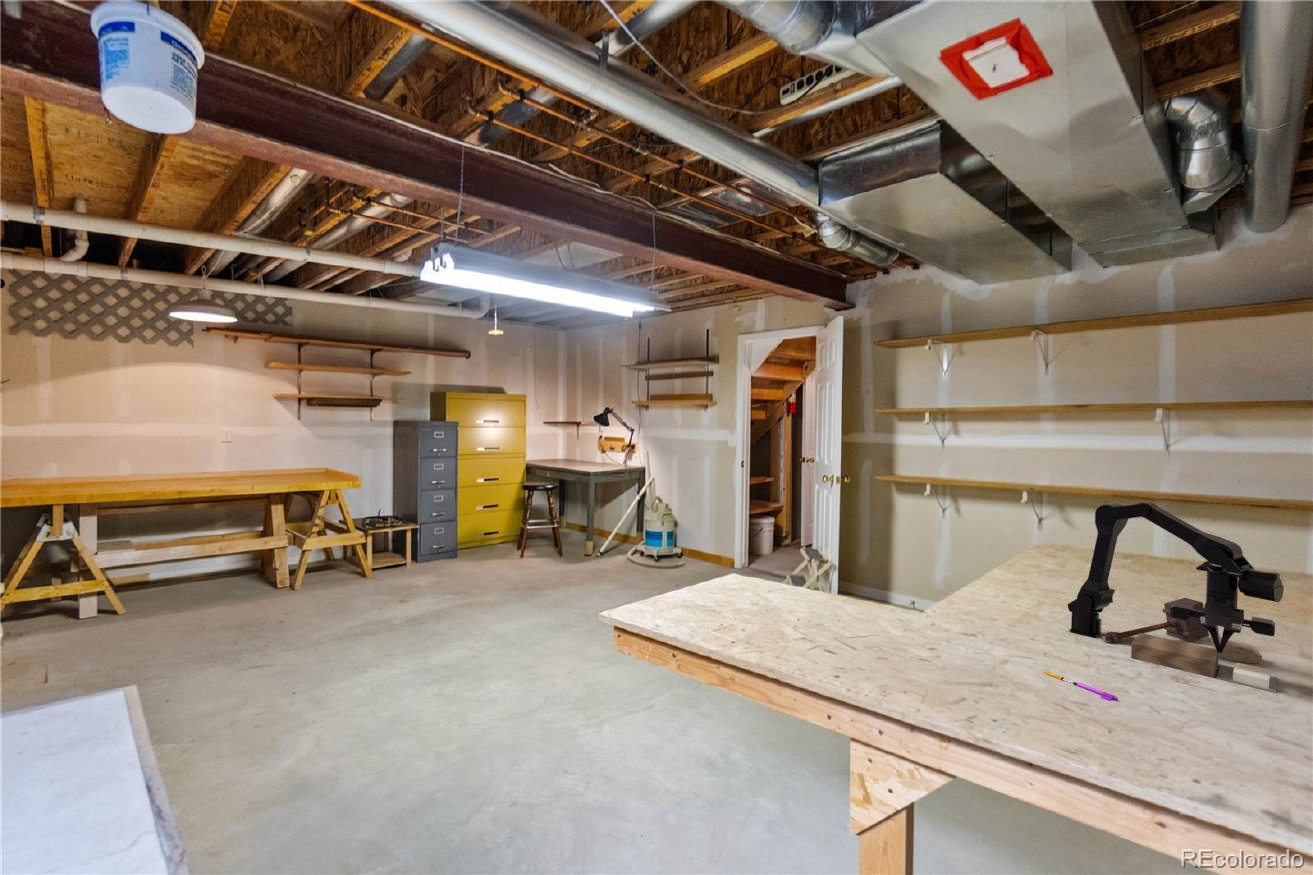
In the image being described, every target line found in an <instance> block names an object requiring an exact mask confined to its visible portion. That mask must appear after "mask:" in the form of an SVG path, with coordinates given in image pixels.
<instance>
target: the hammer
mask: <svg viewBox="0 0 1313 875" xmlns="http://www.w3.org/2000/svg"><path fill="white" fill-rule="evenodd" d="M1175 603H1179V604H1184V605H1190V606H1193V610H1198V611H1203V612H1204V602H1203V601H1198V600H1195V599H1191V598H1188V597H1182V598H1178V599H1175V600H1172V601H1168V602H1165V603H1163V606H1164V608H1162V609H1161V611H1162V613H1164V614H1165V618H1166V622H1160V623H1158V624H1152V625H1149V626H1145V627H1140V628H1135V629H1130V630H1127V631H1121V632H1118V631H1107V632H1106V634H1105V635H1102V637H1101V640H1102V641H1103V642H1111V643H1117V642H1118V641H1121V640H1123V639H1124V638H1129V637H1134V636H1138V635H1139V633H1143V634H1146V633H1147V634H1148V633H1151V632H1155V631H1158V630H1159V631H1160V630H1163V629H1164V630H1166V636H1169V637H1173V638H1176V639H1178V640H1181V641H1183V642H1186V641H1187V642H1186V643H1192V642H1195V641H1198V640H1200V639H1204V638H1209V637H1210V633H1209V631H1208V630H1207V629H1206V627H1204V626H1201V625H1200V622H1201V620H1200V618H1195V617H1190V618H1188V619H1187V620H1184V619H1179V618H1174V617H1171V616H1170V610H1171V607H1172V605H1173V604H1175Z"/></svg>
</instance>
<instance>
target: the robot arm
mask: <svg viewBox="0 0 1313 875" xmlns="http://www.w3.org/2000/svg"><path fill="white" fill-rule="evenodd" d="M1134 518H1144V519H1146V520H1147V521H1148V522H1151V523H1152V524H1154V525H1156V526H1157V527H1160V528H1161V529H1163V530H1164V531H1166V532H1168V533H1169V534H1172V535H1173V536H1175V537H1177V538H1178V539H1180V540H1182V541H1183V542H1185V543H1186V544H1188V545H1190V546H1191V547H1192V549H1193V550H1194V551H1195V552H1196V553H1197V554H1198V555H1200V556H1201V557H1203V559H1204V560H1206V561H1204V562H1202V564H1200V565H1198V566H1196V567H1195V569H1196V570H1197V571H1202V572H1206V590H1205V591H1206V592H1205V604H1203V608H1204V612H1203V611H1198V610H1193V606H1190V605H1184V604H1179V603H1175V604H1173V605H1172V607H1171V610H1170V616H1171V617H1174V618H1179V619H1184V620H1187V619H1188V618H1190V617H1195V618H1200V620H1201V622H1200V625H1201V626H1204V627H1206V629H1207V630H1208V633H1209V636H1210V638H1211V637H1212V640H1213V642H1214V645H1215V647H1216V650H1217V652H1218V653H1222V652H1223V650H1224V648H1225V646H1226V644H1227V642H1228V640H1230V638H1231V637H1232V636H1233V635H1234V633H1236V634H1241V632H1242V628H1243V627H1245V628H1250V629H1251V631H1252V632H1254V634H1257V635H1262V636H1269V637H1275V634H1276V633H1275V632H1276V623H1275V622H1274V620H1272V619H1269V618H1264V617H1263V618H1262V617H1256V616H1251V619H1246V618H1245V610H1244V609H1241V608H1238V602H1239V601H1238V598H1239V597H1238V596H1239V592H1240V593H1242V594H1243V596H1245V597H1250V598H1254V599H1255V598H1256V599H1260V600H1264V601H1270V602H1274V603H1280V602H1281V601H1282V599H1283V596H1284V590H1285V588H1284V587H1285V586H1284V585H1283V581H1282V579H1281V576H1280V575H1281V573H1279V572H1274V571H1273V572H1272V571H1269V572H1268V571H1264V570H1259V569H1258V570H1256V569H1255V568H1254V567H1253V566H1252V564H1251V563H1250V562H1249V561H1248V559H1246V557H1245V556H1244V552H1243V550H1242V547H1241V546H1240V545H1239V544H1237V543H1236V542H1234V541H1231V540H1228V539H1226V538H1223V537H1222V536H1218V535H1215V534H1211V533H1208V532H1206V531H1203V530H1201V529H1200V528H1197V527H1196V526H1194V525H1192V524H1190V523H1188V522H1186V521H1184V520H1182V519H1181V518H1179V517H1177V516H1175V515H1174V514H1172V513H1170V512H1168V511H1167V510H1165V509H1163V508H1161V507H1160V506H1158V505H1157V504H1155V503H1154V502H1151V501H1148V502H1146V501H1144V502H1140V503H1136V504H1129V505H1123V504H1120V503H1110V504H1103V505H1100V506H1098V507H1097V508H1096V509H1095V512H1094V524H1095V528H1096V530H1097V535H1096V541H1095V545H1094V549H1093V555H1092V559H1091V561H1090V562H1091V563H1090V568H1089V572H1088V577H1087V579H1086V580H1085V582H1084V583H1083V584H1082V585H1081V587H1080V589H1079V590H1078V593H1077V596H1076V598H1075V599H1074V600H1072V601H1071V602H1069V603H1068V604H1067V609H1068V612H1070V613H1071V623H1070V624H1071V625H1070V627H1071V628H1070V629H1069V632H1070V633H1074V634H1079V635H1083V636H1089V637H1091V638H1097V637H1098V636H1099V635H1101V633H1102V620H1103V619H1102V618H1100V613H1102V612H1103V610H1104V608H1107V607H1109V605H1110V604H1112V603H1114V600H1113V597H1114V594H1115V592H1116V589H1113V588H1111V587H1110V586H1109V578H1110V577H1109V576H1110V573H1111V568H1112V563H1113V561H1114V560H1113V559H1114V554H1115V550H1116V545H1117V542H1118V537H1119V535H1120V534H1121V533H1122V531H1123V530H1124V528H1126V526H1127V523H1128V522H1129V519H1134ZM1219 627H1222V628H1223V632H1222V636H1221V637H1222V639H1221V643H1220V639H1219V636H1220V632H1219V631H1220V630H1219Z"/></svg>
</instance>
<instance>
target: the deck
mask: <svg viewBox="0 0 1313 875" xmlns="http://www.w3.org/2000/svg"><path fill="white" fill-rule="evenodd" d="M1130 650H1131V655H1130V659H1134V660H1139V661H1142V662H1146V663H1151V664H1154V665H1158V666H1164V667H1166V668H1167V667H1168V668H1172V669H1176V670H1180V671H1185V672H1189V673H1191V674H1196V675H1200V676H1204V677H1208V678H1213V679H1214V678H1215V676H1216V673H1217V671H1218V667H1219V660H1220V659H1219V656H1220V655H1219V653H1218V652H1217V650H1216V649H1214V647H1213V648H1212V647H1207V646H1204V645H1198V644H1193V643H1190V642H1186V641H1180V640H1175V639H1170V638H1166V637H1161V636H1157V635H1151V634H1148V633H1147V634H1146V633H1139V634H1138V635H1136V637H1135V639H1134V640H1133V641H1132V642H1131V649H1130Z"/></svg>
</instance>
